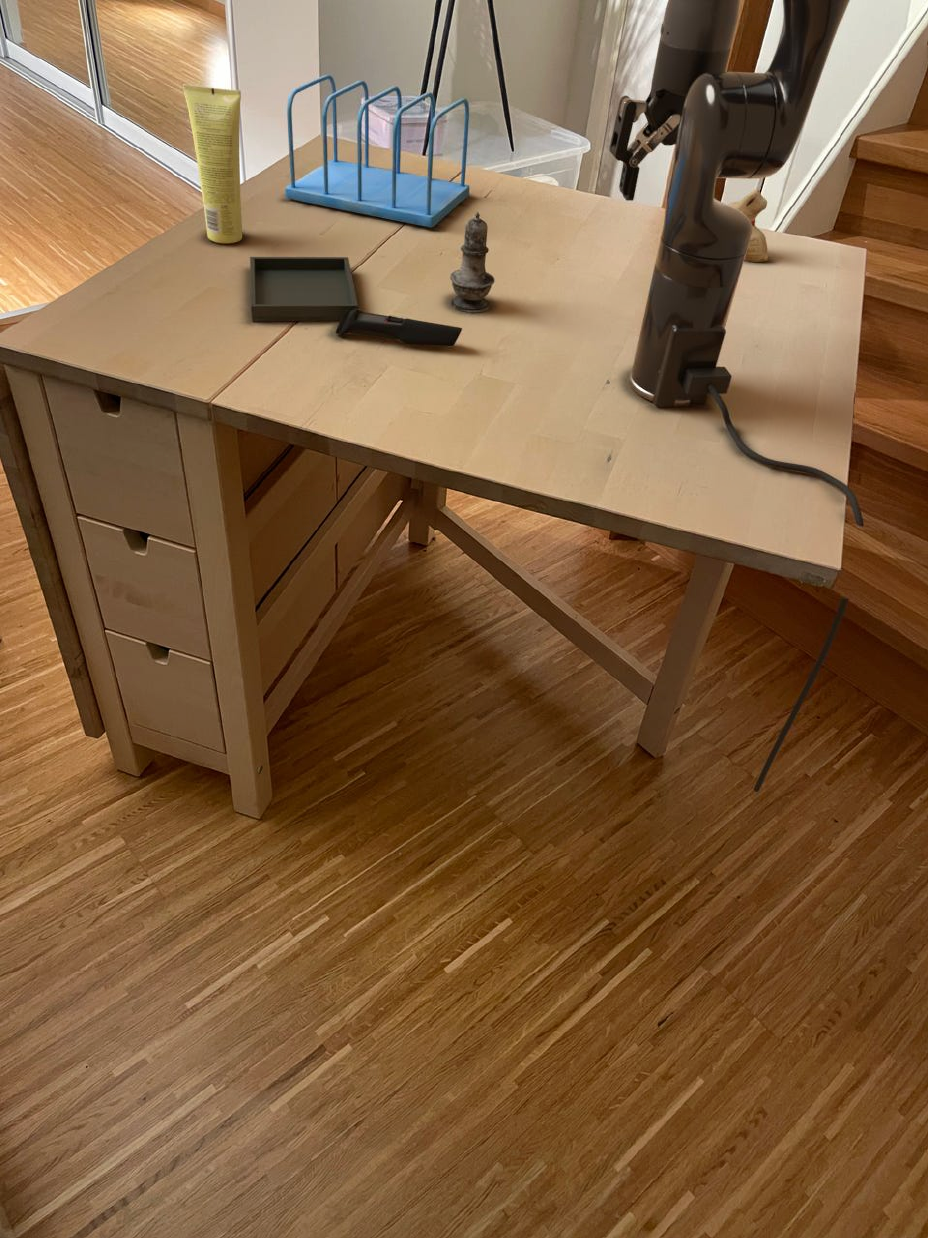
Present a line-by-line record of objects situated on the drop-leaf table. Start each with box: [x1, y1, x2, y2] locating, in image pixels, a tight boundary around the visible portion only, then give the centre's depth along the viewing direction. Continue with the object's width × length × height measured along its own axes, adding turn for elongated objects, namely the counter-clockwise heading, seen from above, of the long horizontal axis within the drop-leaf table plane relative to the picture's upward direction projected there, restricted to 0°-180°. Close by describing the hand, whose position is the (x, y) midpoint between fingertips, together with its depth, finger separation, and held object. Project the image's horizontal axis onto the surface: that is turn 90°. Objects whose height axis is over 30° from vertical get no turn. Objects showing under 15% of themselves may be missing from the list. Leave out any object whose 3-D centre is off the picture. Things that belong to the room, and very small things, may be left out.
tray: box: [249, 256, 359, 322], centre depth 120 cm, size 15×13×2 cm
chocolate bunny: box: [728, 188, 770, 263], centre depth 140 cm, size 6×8×10 cm
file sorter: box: [285, 74, 470, 228], centre depth 144 cm, size 25×17×15 cm
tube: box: [182, 83, 243, 244], centre depth 126 cm, size 6×5×20 cm
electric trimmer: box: [335, 308, 463, 347], centre depth 113 cm, size 4×16×3 cm, turn 79°
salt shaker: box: [449, 211, 495, 314], centre depth 119 cm, size 6×6×12 cm
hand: (662, 198), depth 108 cm, fingers open, 8 cm apart
